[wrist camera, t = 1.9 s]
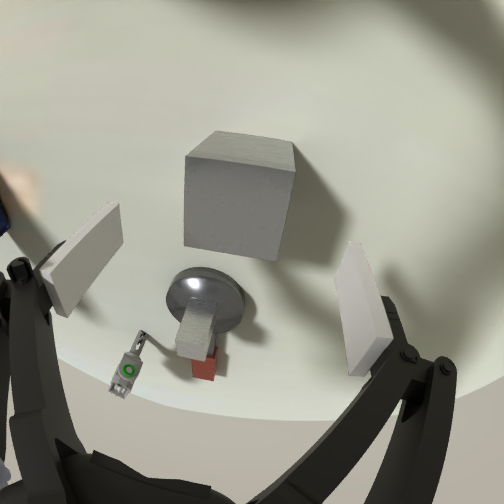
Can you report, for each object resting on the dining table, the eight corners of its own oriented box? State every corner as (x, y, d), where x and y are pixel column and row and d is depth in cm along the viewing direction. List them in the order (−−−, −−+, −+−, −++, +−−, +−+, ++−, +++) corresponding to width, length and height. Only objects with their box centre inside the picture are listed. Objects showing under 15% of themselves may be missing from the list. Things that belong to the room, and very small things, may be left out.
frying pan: (169, 260, 30) (142, 312, 24) (249, 274, 30) (238, 332, 24) (179, 362, 43) (166, 403, 36) (232, 373, 43) (225, 416, 36)
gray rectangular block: (215, 130, 22) (185, 156, 15) (291, 141, 22) (295, 172, 15) (210, 197, 26) (184, 246, 19) (278, 209, 26) (276, 261, 19)
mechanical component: (161, 322, 37) (137, 381, 29) (144, 351, 43) (124, 401, 34) (142, 312, 36) (115, 370, 28) (128, 343, 42) (106, 392, 34)
